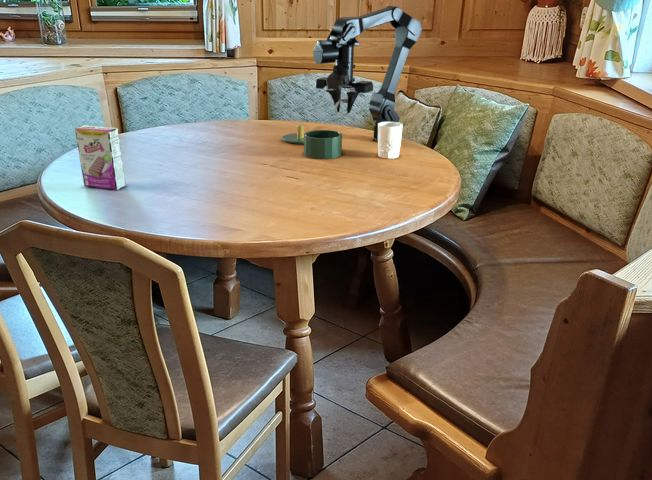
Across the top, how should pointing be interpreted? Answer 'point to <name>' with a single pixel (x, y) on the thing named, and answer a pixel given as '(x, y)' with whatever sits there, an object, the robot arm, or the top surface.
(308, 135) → the tin
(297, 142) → the tin lid
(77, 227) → the top surface
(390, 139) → the white cup
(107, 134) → the candy bar box
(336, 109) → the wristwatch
